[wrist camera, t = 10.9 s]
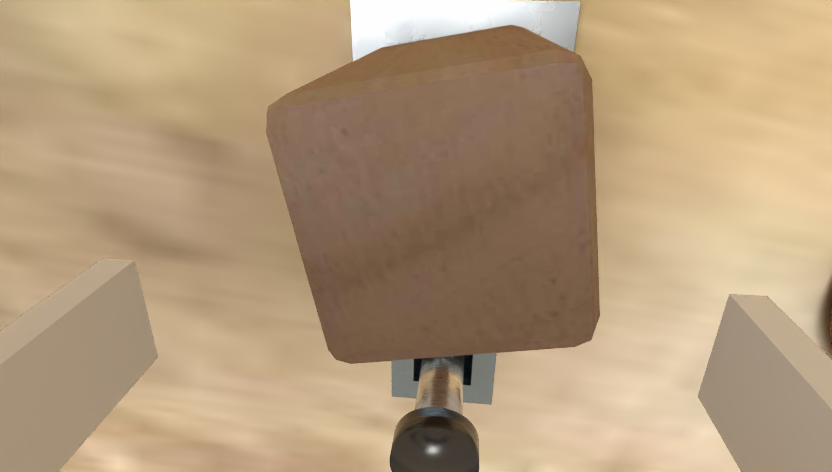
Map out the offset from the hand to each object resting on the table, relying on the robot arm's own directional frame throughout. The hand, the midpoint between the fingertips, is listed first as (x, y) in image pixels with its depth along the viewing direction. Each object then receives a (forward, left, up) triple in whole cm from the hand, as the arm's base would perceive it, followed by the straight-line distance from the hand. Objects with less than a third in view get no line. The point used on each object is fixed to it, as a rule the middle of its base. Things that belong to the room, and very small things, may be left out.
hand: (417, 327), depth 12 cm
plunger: (0, -12, -17) cm, 20 cm away
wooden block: (0, 0, -25) cm, 25 cm away
